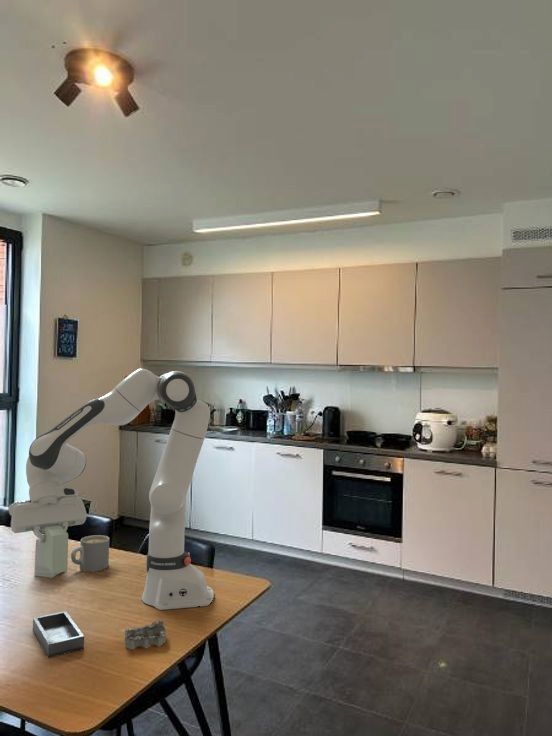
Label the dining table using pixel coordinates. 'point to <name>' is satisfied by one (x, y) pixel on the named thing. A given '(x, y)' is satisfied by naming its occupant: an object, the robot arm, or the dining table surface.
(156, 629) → the egg carton
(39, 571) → the supplement box
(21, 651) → the dining table surface
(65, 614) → the grey rectangular tray
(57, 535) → the sage green slab
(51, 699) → the dining table surface
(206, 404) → the robot arm
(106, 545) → the coffee mug
